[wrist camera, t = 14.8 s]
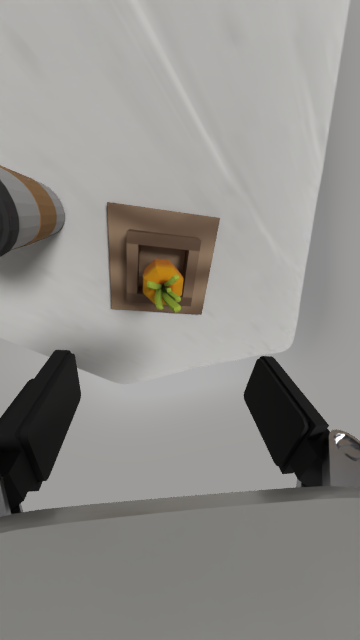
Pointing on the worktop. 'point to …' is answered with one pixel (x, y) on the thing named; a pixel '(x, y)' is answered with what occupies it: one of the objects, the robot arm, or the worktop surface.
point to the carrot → (163, 284)
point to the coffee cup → (26, 211)
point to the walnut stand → (158, 254)
